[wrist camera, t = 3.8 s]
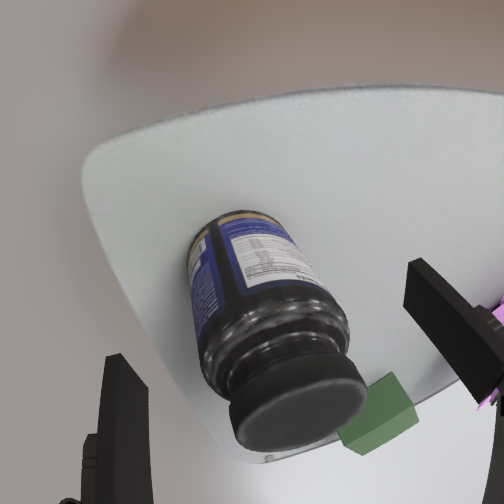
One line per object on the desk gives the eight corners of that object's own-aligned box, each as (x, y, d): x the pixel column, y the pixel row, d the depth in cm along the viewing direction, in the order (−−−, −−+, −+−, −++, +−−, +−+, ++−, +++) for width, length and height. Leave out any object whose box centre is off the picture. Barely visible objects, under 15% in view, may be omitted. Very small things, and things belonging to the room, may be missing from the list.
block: (348, 427, 36) (362, 456, 32) (327, 411, 31) (343, 446, 27) (402, 393, 35) (419, 421, 31) (392, 371, 30) (413, 404, 26)
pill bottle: (228, 312, 20) (273, 469, 11) (164, 252, 17) (169, 436, 8) (306, 257, 19) (401, 399, 10) (252, 184, 16) (356, 331, 7)
